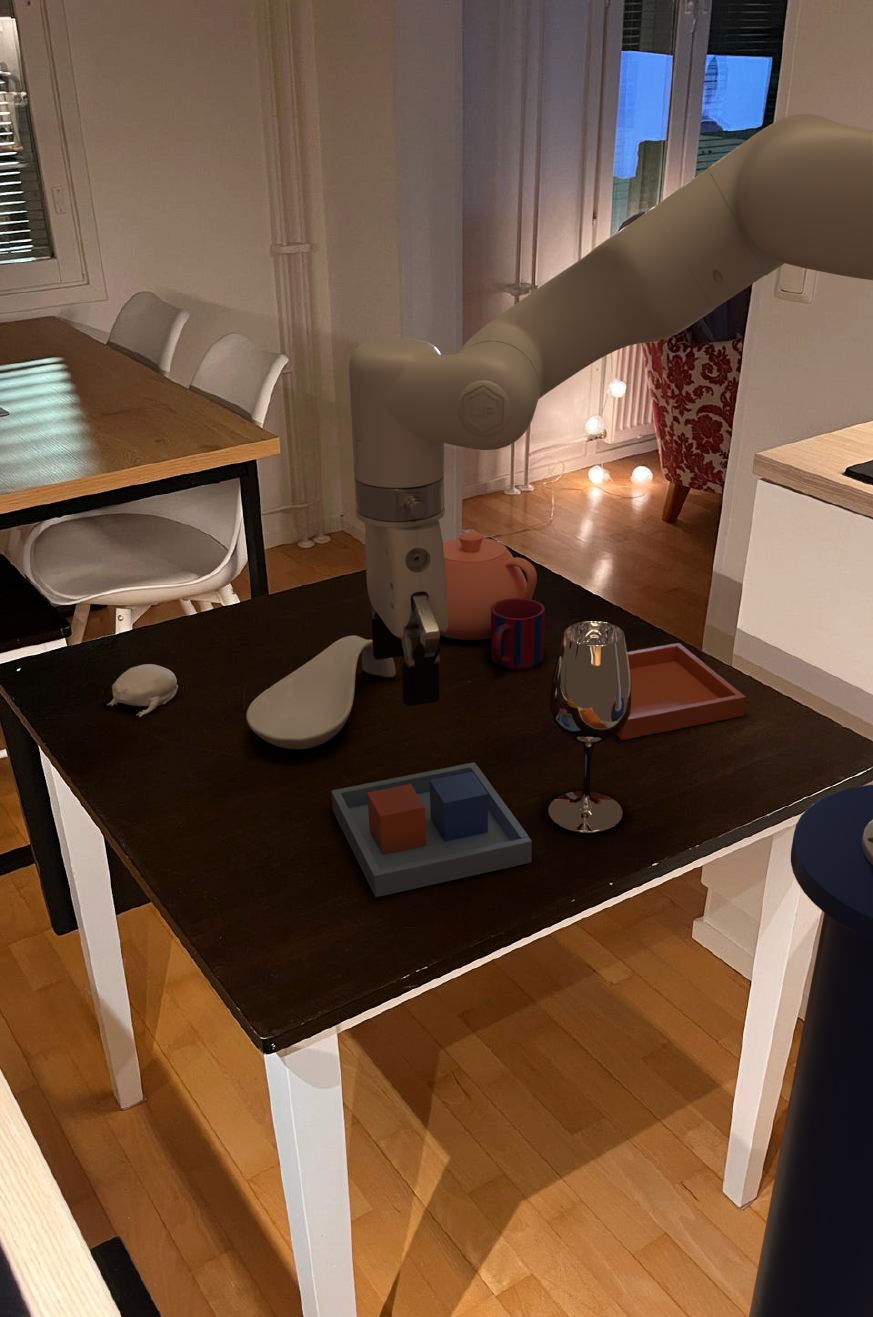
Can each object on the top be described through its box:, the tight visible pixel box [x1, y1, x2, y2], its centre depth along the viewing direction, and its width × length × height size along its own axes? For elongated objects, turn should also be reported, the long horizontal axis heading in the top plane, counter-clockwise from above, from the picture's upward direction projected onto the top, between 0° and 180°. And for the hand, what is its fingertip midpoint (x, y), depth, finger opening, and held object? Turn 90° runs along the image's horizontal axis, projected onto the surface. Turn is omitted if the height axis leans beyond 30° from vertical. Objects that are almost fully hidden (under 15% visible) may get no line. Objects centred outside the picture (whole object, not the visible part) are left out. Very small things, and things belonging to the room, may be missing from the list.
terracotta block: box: [367, 784, 426, 855], centre depth 115 cm, size 4×4×4 cm
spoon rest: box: [245, 635, 397, 750], centre depth 138 cm, size 24×12×7 cm, turn 153°
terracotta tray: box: [615, 642, 747, 741], centre depth 140 cm, size 16×16×2 cm
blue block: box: [429, 772, 488, 841], centre depth 117 cm, size 4×4×4 cm
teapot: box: [440, 531, 538, 641], centre depth 158 cm, size 22×16×12 cm
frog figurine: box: [106, 663, 179, 718], centre depth 143 cm, size 8×7×4 cm
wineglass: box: [547, 620, 632, 834], centre depth 115 cm, size 8×8×20 cm
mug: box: [490, 598, 546, 670], centre depth 148 cm, size 7×10×7 cm
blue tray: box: [330, 762, 533, 898], centre depth 117 cm, size 16×16×2 cm
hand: (405, 678), depth 108 cm, fingers open, 9 cm apart
